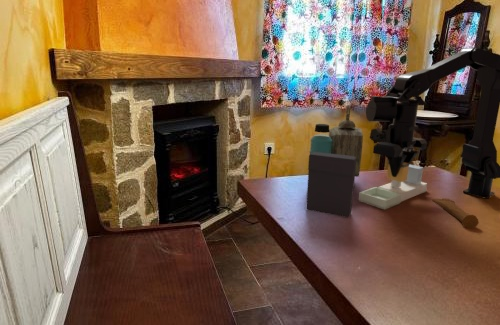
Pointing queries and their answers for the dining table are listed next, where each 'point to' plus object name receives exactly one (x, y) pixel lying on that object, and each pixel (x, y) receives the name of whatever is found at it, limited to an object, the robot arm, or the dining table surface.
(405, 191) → the white flat block
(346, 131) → the grey brown pump bottle
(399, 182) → the block
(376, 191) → the parts tray
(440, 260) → the dining table surface
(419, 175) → the block
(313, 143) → the beverage bottle
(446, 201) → the primitive tool
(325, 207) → the upright charcoal panel
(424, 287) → the dining table surface
